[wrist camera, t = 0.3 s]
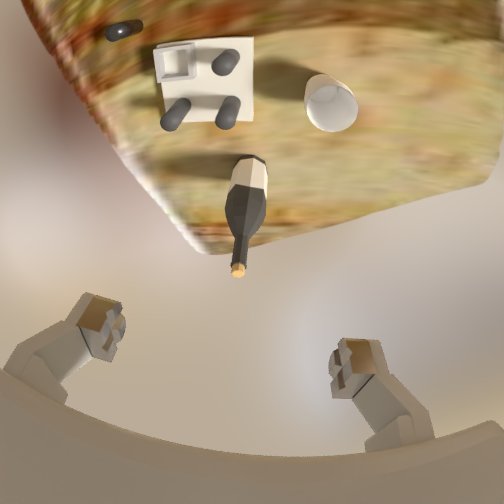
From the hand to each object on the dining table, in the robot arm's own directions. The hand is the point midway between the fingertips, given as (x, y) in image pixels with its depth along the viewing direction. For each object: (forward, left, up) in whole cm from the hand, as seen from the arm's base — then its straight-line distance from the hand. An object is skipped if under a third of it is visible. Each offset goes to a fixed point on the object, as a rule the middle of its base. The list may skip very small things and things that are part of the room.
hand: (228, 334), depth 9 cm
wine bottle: (+22, +18, -52) cm, 59 cm away
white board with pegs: (+12, -4, -51) cm, 53 cm away
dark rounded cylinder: (+12, -24, -51) cm, 58 cm away
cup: (-3, +13, -52) cm, 53 cm away
